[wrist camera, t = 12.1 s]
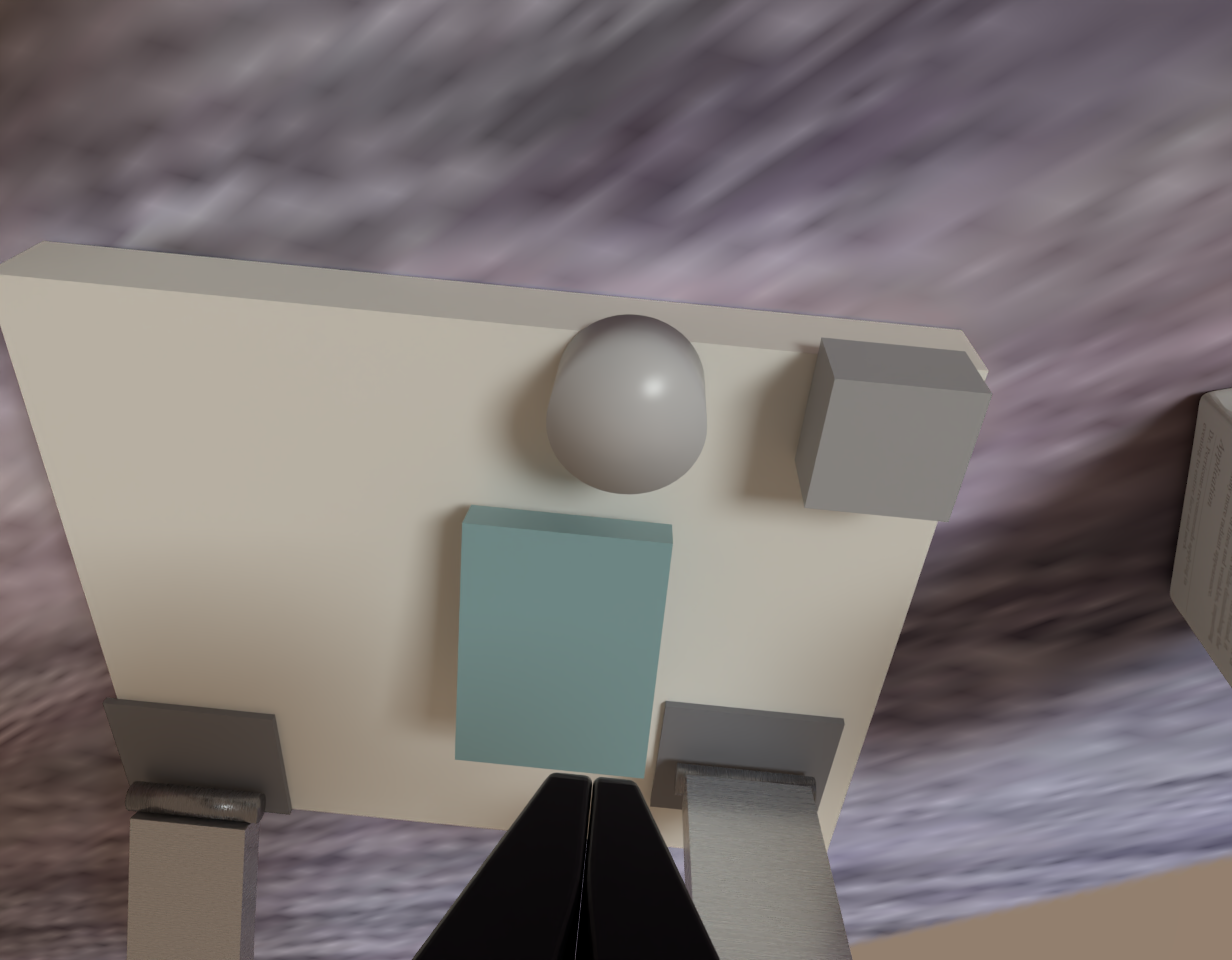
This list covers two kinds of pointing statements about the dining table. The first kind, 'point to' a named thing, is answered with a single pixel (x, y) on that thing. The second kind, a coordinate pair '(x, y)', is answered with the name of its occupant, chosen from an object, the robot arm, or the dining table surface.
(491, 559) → the pale teal flat block
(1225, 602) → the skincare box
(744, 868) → the grey black-tipped post
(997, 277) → the dining table surface
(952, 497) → the square button
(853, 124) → the dining table surface
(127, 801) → the grey block with ball
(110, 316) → the panel
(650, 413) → the round button
